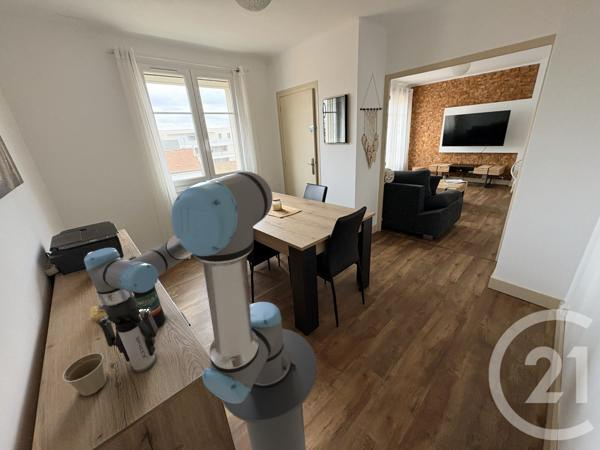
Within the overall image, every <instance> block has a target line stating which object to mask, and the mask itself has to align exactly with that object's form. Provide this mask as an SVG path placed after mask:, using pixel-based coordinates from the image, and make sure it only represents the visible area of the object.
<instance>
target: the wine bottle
mask: <svg viewBox="0 0 600 450" xmlns="http://www.w3.org/2000/svg"><path fill="white" fill-rule="evenodd" d="M137 257H138V256H132V257H130V258H128V259H127V260H133V259H135V258H137ZM133 294H134V296H135V299H136V302H137V306H138V307H139V308H140V309H147V308H151V315H152V317H153V319H154V321H155V323H156V325H157V327H158V328H160V327H161V326H163V324H164V323H165V322H166V320H167V319H166V316H165V312H164V309H163V307H162V303H161V300H160V297H159V294H158V291H157V288H156V284H155V285H154V287H153V288H152V289H150V290H149V291H147V292H143V293H138V292H133ZM139 316H140V317H141V320H142V321H143V322H144V323H145V324H146V322H145V320H144V318H143V317H142V315H141V314H139ZM146 325H147V324H146Z"/></svg>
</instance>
